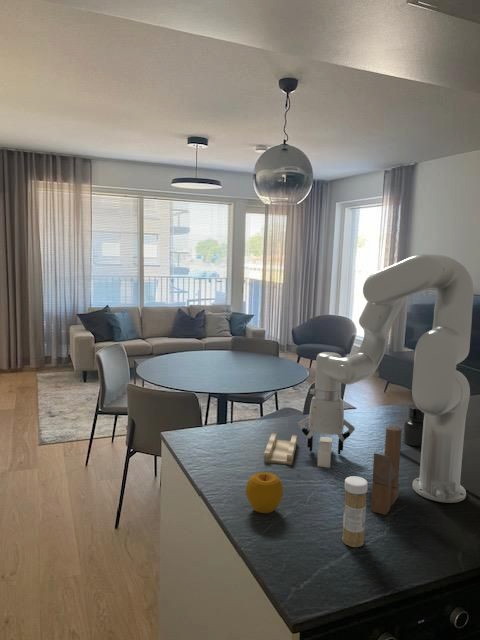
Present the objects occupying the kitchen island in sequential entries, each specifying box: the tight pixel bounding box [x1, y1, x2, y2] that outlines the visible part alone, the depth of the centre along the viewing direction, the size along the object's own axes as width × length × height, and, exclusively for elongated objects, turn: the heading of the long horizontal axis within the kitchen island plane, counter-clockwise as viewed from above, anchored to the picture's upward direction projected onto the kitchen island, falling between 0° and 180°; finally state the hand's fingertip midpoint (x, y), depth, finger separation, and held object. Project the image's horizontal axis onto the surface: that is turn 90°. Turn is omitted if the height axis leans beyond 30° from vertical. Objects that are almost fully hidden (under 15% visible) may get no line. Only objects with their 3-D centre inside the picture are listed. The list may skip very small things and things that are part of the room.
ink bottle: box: [402, 403, 425, 448], centre depth 155 cm, size 10×9×12 cm
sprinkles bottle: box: [341, 475, 369, 548], centre depth 99 cm, size 5×5×13 cm
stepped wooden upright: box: [370, 425, 402, 516], centre depth 115 cm, size 4×11×18 cm, turn 147°
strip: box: [316, 436, 333, 468], centre depth 142 cm, size 12×4×4 cm, turn 167°
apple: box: [245, 471, 284, 514], centre depth 111 cm, size 8×8×9 cm
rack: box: [263, 432, 298, 466], centre depth 146 cm, size 16×8×3 cm, turn 168°
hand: (324, 450), depth 145 cm, fingers open, 7 cm apart
